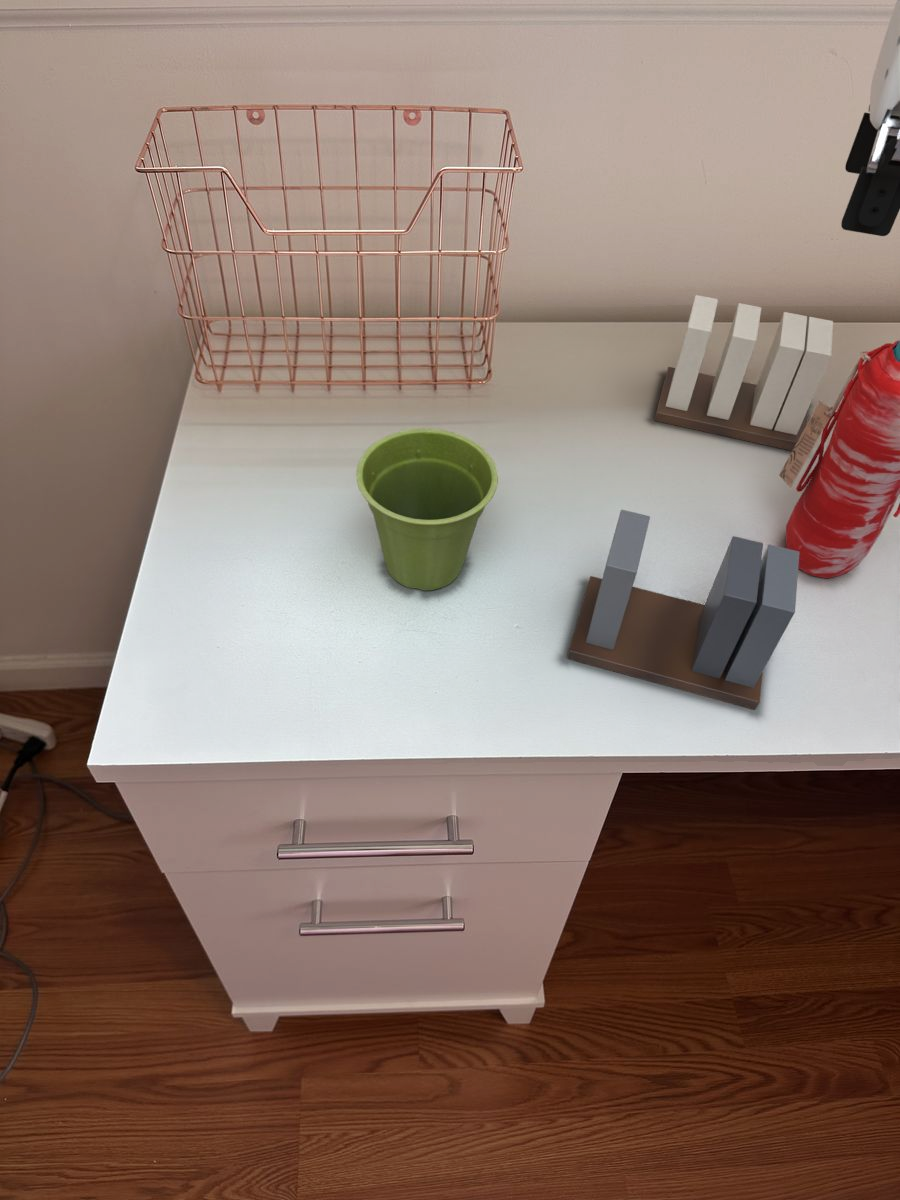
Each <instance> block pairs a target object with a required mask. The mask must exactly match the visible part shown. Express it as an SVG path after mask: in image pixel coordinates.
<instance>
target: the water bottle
mask: <svg viewBox="0 0 900 1200" xmlns="http://www.w3.org/2000/svg"><path fill="white" fill-rule="evenodd" d="M831 432H832V433H831ZM830 434H831V436H830ZM820 436H821V438H820ZM829 436H830V439H829V442H828V444H827V447H826V449H825V443H826V442H827V440H828V438H829ZM819 438H820V443H819V445H818V447H817V449H816V450H815V452H814V454H813V455H812V458H811V460H810V462H809V464H808V466H807V467H806V468H805V471H804V473H803V475H802V476H801V478H800V480H799V481H798V484H797V486H796V488H795V490H796V492H798V493H799V492H802V491H803V492H802V493H801V495H800V497H799V498H798V500H797V502H796V503H795V506H794V507H793V510H792V512H791V514H790V516H789V519H788V521H787V523H786V525H785V534H786V535H785V543H786V544H785V545H786V549H790V550H794V551H799V565H798V570H801V571H802V572H804V573H806V574H808V575H809V576H811V577H812V576H813V577H818V578H822V579H830V578H835V577H838V576H843V575H847V574H848V573H849V572H851V571H852V570H854V569H856V568H857V567H858V566H860V565H861V563H862V562H863V561H864V559H865V558H866V557H867V556H868V554H869V552H870V551H871V549H872V548H873V546H874V545H875V544H876V542H877V540H878V539H879V537H880V535H881V534H882V532H883V529H884V528H885V525H886V523H887V521H888V520H889V517H890V515H891V513H892V511H893V509H894V507H895V504H896V503H897V500H898V499H899V496H900V339H899V340H895V341H894V342H893V343H890V342H889V343H885V344H883V345H881V346H879V347H877V348H875V349H872V350H869V351H868V350H865V351H861V352H860V357H859V359H858V360H857V363H856V364H855V366H854V367H853V369H852V371H851V373H850V374H849V376H848V378H847V380H846V382H845V384H844V386H843V387H842V389H841V391H840V393H839V395H838V396H837V399H836V401H835V403H834V404H833V406H831V407H830V406H829V405H827V404H825V403H823V402H822V401H819V402H818V403H817V405H816V407H815V409H814V411H813V412H812V414H811V416H810V417H809V420H808V421H807V425H806V427H805V429H804V431H803V432H802V434H801V436H800V438H799V440H798V442H797V443H796V445H795V447H794V449H793V451H791V453H790V454H789V456H788V457H787V460H786V462H785V463H784V465H783V467H782V468H781V470H780V473H779V474H778V476H779V477H780V478H781V479H782V480H783V481H784V482H785V483H786V484H787V486H789V488H792V486H793V485H794V484H795V481H796V480H797V478H798V477H799V474H800V473H801V471H802V468H803V467H804V465H805V463H806V462H807V460H808V458H809V457H810V455H811V453H812V451H813V449H814V447H815V446H816V445H817V442H818V440H819ZM824 450H825V451H824ZM817 458H818V459H817ZM816 460H817V462H816ZM815 462H816V464H815ZM814 464H815V466H814ZM813 466H814V467H813ZM812 468H813V469H812ZM811 469H812V470H811ZM810 471H811V472H810ZM892 516H893V517H894V518H897V517H898V516H900V502H899V503H898V506H897V508H896V510H895V512H894V513H893V514H892Z"/></svg>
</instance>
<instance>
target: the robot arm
mask: <svg viewBox="0 0 900 1200" xmlns="http://www.w3.org/2000/svg"><path fill="white" fill-rule="evenodd" d="M844 169H845V172H847V173H851V174H856V175H858V177H857V178H856V182H855V184H854V187H853V190H852V192H851V195H850V198H849V200H848V202H847V205H846V208H845V211H844V213H843V217H842V218H841V228H842V230H843V231H848V232H854V233H860V234H867V235H872V236H878V237H886V236H888V235H889V234H890V233H891V231H892V230H893V229H892V228H893V226H894V224H895V222H896V220H897V217H898V215H899V212H900V0H896V1H895V4H894V7H893V10H892V14H891V16H890V19H889V22H888V26H887V28H886V31H885V35H884V39H883V41H882V44H881V47H880V51H879V54H878V58H877V60H876V64H875V69H874V72H873V75H872V79H871V84H870V96H869V104H868V108H867V112H864V113H863V115H862V118H861V122H860V124H859V126H858V129H857V131H856V135H855V137H854V139H853V142H852V145H851V149H850V150H849V154H848V156H847V159H846V162H845V167H844Z"/></svg>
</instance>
